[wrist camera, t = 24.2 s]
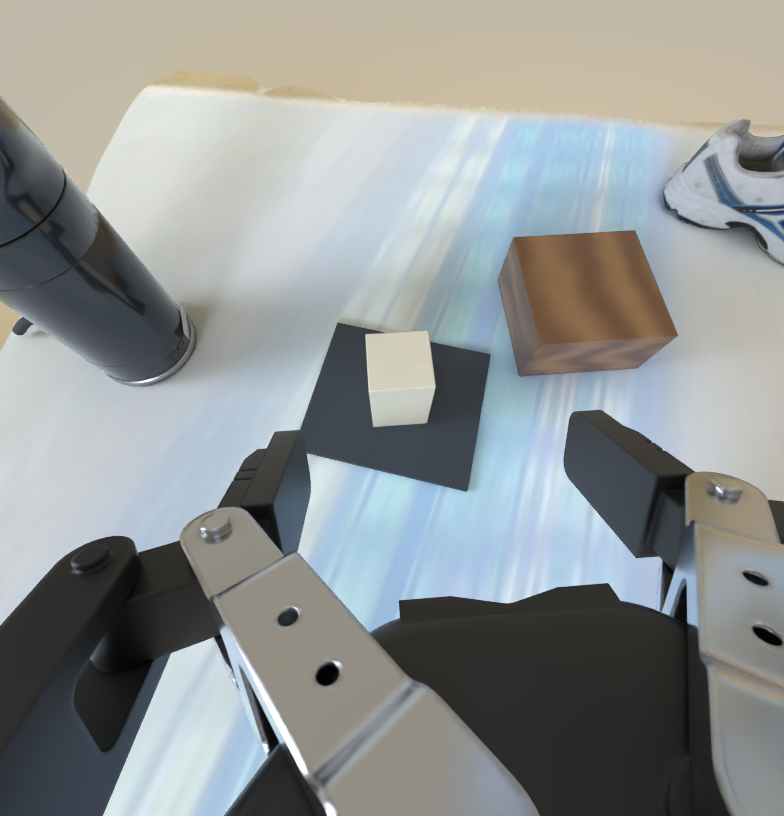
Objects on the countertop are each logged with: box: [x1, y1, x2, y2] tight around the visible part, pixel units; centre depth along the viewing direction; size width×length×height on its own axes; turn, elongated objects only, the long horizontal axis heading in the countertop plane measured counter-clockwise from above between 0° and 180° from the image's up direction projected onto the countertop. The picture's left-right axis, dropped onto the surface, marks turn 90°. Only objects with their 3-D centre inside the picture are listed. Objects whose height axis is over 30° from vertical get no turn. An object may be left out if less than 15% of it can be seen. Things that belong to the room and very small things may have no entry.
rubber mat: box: [300, 323, 490, 491], centre depth 37 cm, size 16×14×1 cm
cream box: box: [365, 330, 436, 427], centre depth 33 cm, size 5×5×8 cm
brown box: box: [498, 230, 678, 376], centre depth 38 cm, size 12×12×6 cm
